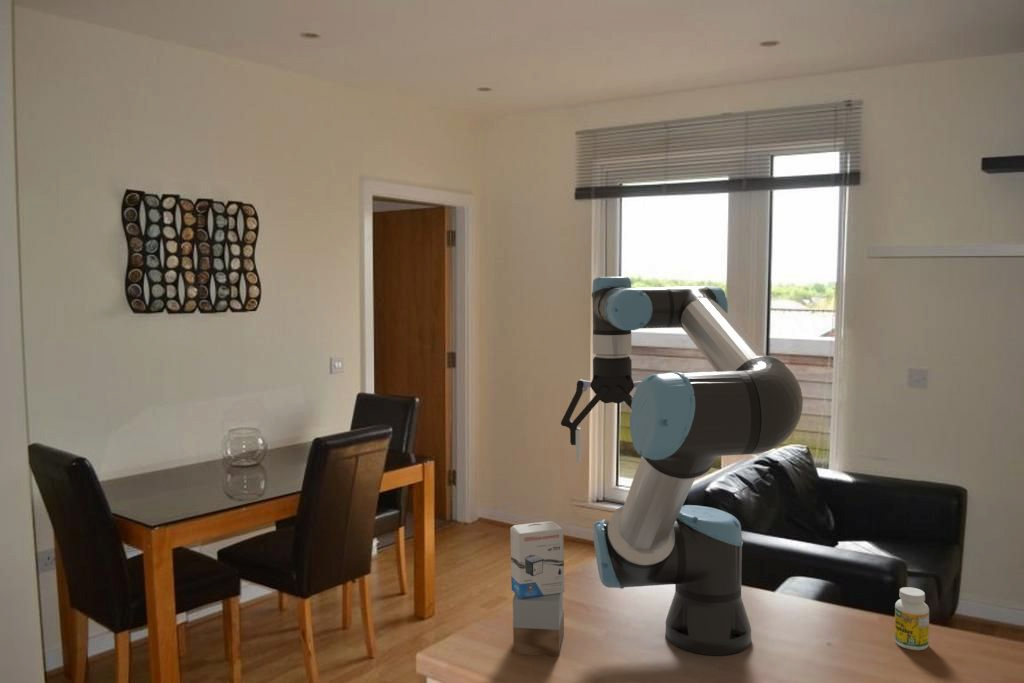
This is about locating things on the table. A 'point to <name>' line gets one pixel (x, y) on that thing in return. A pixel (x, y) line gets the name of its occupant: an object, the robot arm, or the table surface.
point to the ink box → (537, 559)
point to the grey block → (538, 612)
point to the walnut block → (539, 640)
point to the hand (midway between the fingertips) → (612, 462)
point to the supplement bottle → (912, 619)
